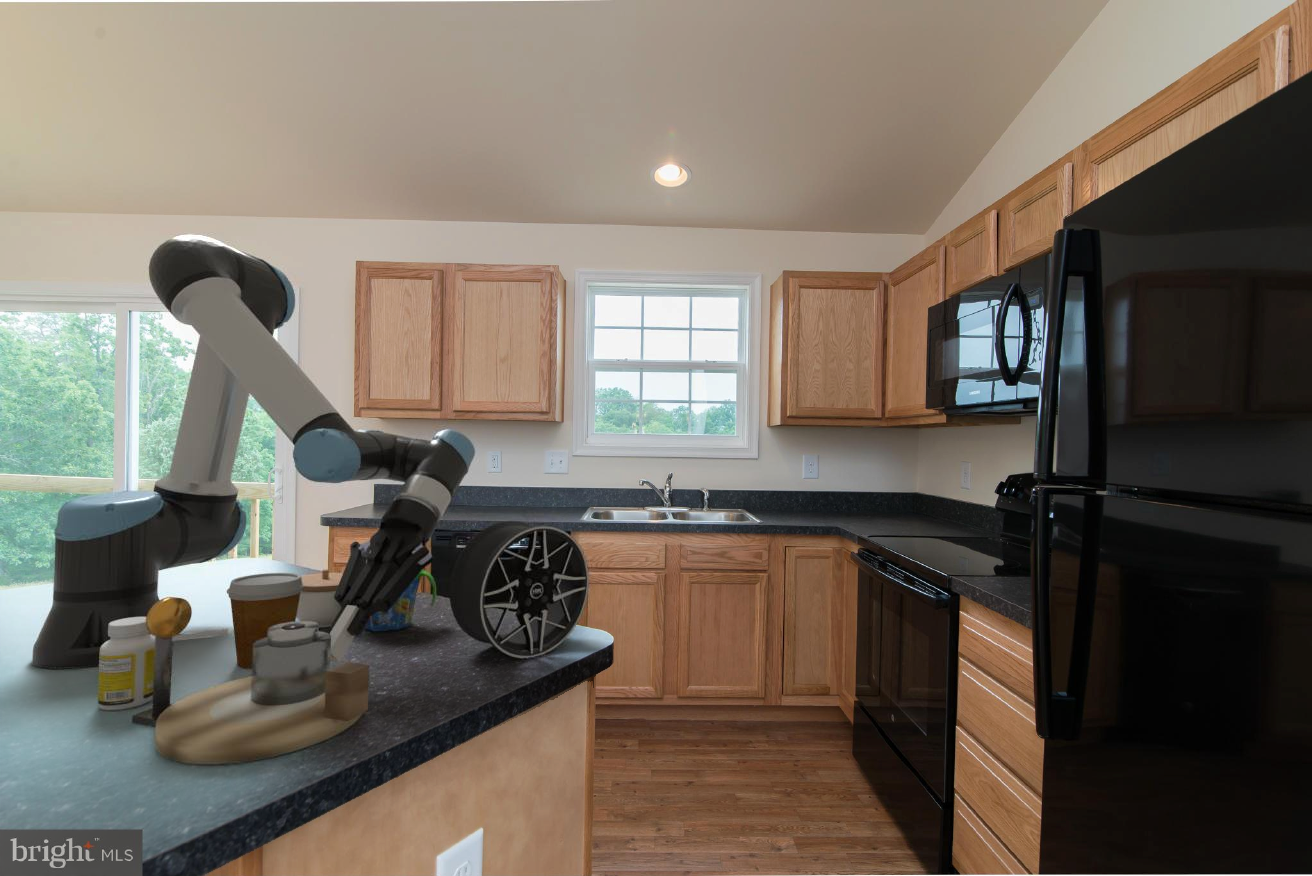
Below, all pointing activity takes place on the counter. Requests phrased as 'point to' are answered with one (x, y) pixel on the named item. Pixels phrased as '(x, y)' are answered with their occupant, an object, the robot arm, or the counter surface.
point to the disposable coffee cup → (261, 608)
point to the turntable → (258, 720)
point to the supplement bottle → (126, 665)
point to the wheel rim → (521, 588)
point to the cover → (290, 664)
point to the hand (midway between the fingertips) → (329, 656)
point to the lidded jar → (319, 598)
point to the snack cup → (400, 608)
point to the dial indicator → (167, 650)
